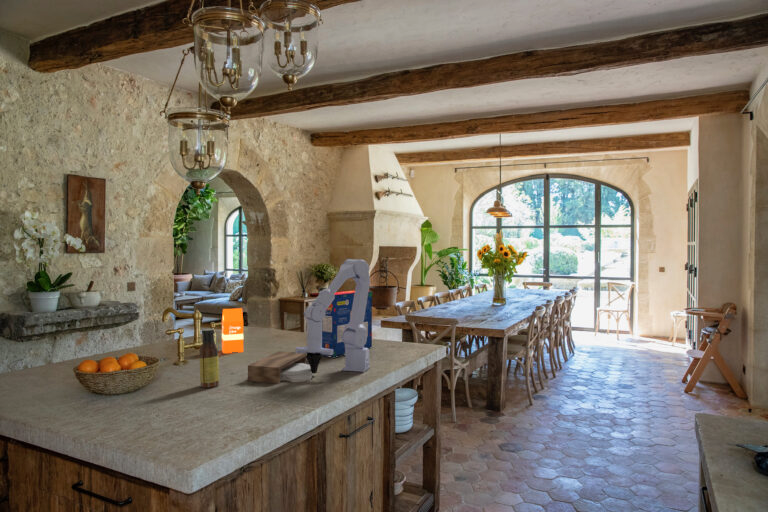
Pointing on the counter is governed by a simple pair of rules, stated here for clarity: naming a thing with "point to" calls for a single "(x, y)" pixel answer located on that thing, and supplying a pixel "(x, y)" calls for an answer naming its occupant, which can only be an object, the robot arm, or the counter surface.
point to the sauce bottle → (209, 360)
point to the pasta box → (343, 322)
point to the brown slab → (273, 366)
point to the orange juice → (232, 330)
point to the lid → (296, 372)
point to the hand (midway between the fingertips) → (314, 372)
